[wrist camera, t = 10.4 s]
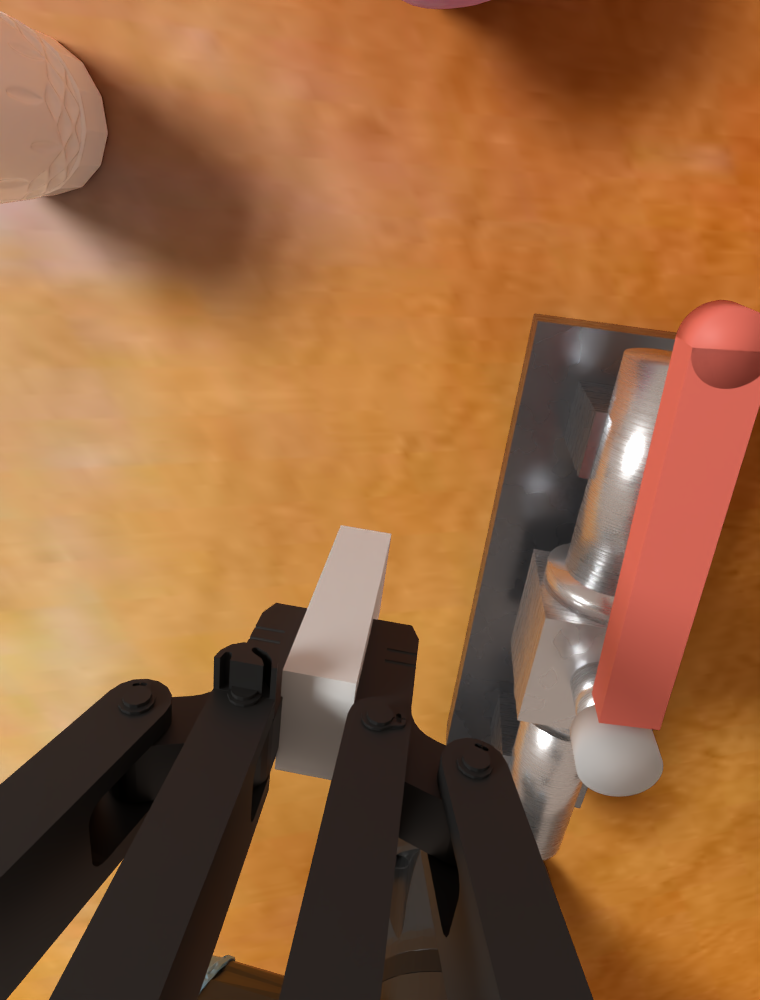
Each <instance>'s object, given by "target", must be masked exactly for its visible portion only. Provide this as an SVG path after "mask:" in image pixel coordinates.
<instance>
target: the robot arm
mask: <svg viewBox="0 0 760 1000" xmlns="http://www.w3.org/2000/svg"><path fill="white" fill-rule="evenodd" d="M390 540H391V534H389V533H383V532H377V531H371V530H366V529H360V528H354V527H348V526H342V525H341V526H340V529H339V531H338V534H337V536H336V539H335V541H334V544H333V546H332V549H331V551H330V554H329V556H328V559H327V561H326V564H325V566H324V569H323V571H322V574H321V576H320V579H319V581H318V584H317V586H316V589H315V591H314V593H313V596H312V598H311V601H310V603H309V606H308V608H302V607H296V606H291V605H285V604H280V603H275V604H274V605H272V606H271V607H270V608H268V609H267V610H266V611H264V612H263V613H262V615H261V616H260V618H259V620H258V622H257V624H256V627H255V628H254V630H253V632H252V634H251V636H250V639H249V640H248V642H247V643H244V642H243V643H238V644H232V645H230V646H228V647H226V648H224V649H222V650H220V651H219V652H218V653H217V655H216V656H215V657H214V688H213V690H212V691H211V692H208V693H205V694H202V695H196V696H185V697H172V694H171V693H170V691H169V689H168V687H167V686H165V685H163V684H162V683H160V682H159V681H154V680H150V679H136V680H131V681H128V682H125V683H121V684H120V685H118V686H116V687H115V688H113V689H112V690H110V691H109V692H108V693H107V694H105V695H104V696H103V697H102V698H101V699H100V700H98V701H97V702H96V703H95V704H94V705H93V706H91V707H90V708H89V709H88V710H87V711H86V712H84V713H83V714H82V715H81V716H80V717H79V718H77V719H76V720H75V721H74V722H73V723H72V724H70V725H69V726H68V727H67V728H66V729H65V730H63V731H62V732H61V733H60V734H59V735H58V736H56V737H55V738H54V739H53V740H52V741H51V742H49V743H48V744H47V745H46V746H45V747H44V748H42V749H41V750H40V751H39V752H38V753H36V754H35V755H34V756H33V757H32V758H31V759H29V760H28V761H27V762H26V763H25V764H24V765H22V766H21V767H20V768H19V769H18V770H17V771H15V772H14V773H13V774H12V775H11V776H10V777H8V778H7V779H6V780H5V781H4V782H3V783H1V784H0V1000H6V999H7V998H8V997H9V996H10V995H11V993H12V992H13V991H14V990H15V989H16V987H17V986H18V985H19V984H20V983H21V981H22V980H23V979H24V978H25V976H26V975H27V974H28V973H29V972H30V970H31V969H32V968H33V967H34V966H35V964H36V963H37V962H38V961H39V960H40V958H41V957H42V956H43V955H44V954H45V952H46V951H47V950H48V949H49V948H50V946H51V945H52V944H53V943H54V942H55V940H56V939H57V938H58V937H59V936H60V934H61V933H62V932H63V931H64V930H65V928H66V927H67V926H68V925H69V923H70V922H71V921H72V920H73V919H74V917H75V916H76V915H77V914H78V913H79V911H80V910H81V909H82V908H83V907H84V905H85V904H86V903H87V902H88V901H89V899H90V898H91V897H92V896H93V895H94V893H95V892H96V891H97V890H98V889H99V887H100V886H101V885H102V884H103V883H104V881H105V880H106V879H107V878H108V876H109V875H110V874H111V873H112V872H113V870H114V869H115V868H116V867H117V866H118V864H119V863H120V862H121V861H122V860H123V861H122V863H121V864H120V866H119V868H118V870H117V872H116V874H115V876H114V878H113V880H112V882H111V883H110V885H109V887H108V889H107V891H106V893H105V895H104V897H103V899H102V900H101V902H100V904H99V906H98V908H97V910H96V912H95V914H94V916H93V917H92V919H91V921H90V923H89V925H88V927H87V929H86V931H85V933H84V934H83V936H82V938H81V940H80V942H79V944H78V946H77V948H76V950H75V952H74V953H73V955H72V957H71V959H70V961H69V963H68V965H67V967H66V969H65V970H64V972H63V974H62V976H61V978H60V980H59V982H58V984H57V986H56V987H55V989H54V991H53V993H52V995H51V997H50V999H49V1000H593V997H592V994H591V992H590V989H589V986H588V983H587V981H586V978H585V975H584V972H583V970H582V967H581V964H580V961H579V959H578V956H577V953H576V951H575V948H574V945H573V942H572V940H571V937H570V934H569V931H568V929H567V926H566V923H565V920H564V918H563V915H562V912H561V909H560V907H559V904H558V901H557V898H556V896H555V893H554V890H553V887H552V885H551V882H550V878H549V874H548V871H547V868H546V866H545V864H544V862H543V860H542V857H541V854H540V852H539V849H538V846H537V843H536V841H535V838H534V835H533V832H532V830H531V827H530V824H529V821H528V819H527V816H526V813H525V811H524V808H523V805H522V802H521V800H520V797H519V794H518V791H517V789H516V786H515V783H514V780H513V778H512V775H511V772H510V769H509V767H508V764H507V762H506V760H505V759H504V757H503V756H502V754H501V753H500V752H499V751H498V750H497V749H495V748H494V747H493V746H492V745H490V744H488V743H486V742H483V741H481V740H478V739H472V738H462V739H456V740H454V741H452V742H451V743H449V744H447V745H444V744H441V743H439V742H437V741H435V740H433V739H432V738H430V737H428V736H427V735H425V734H424V733H423V732H422V731H421V730H420V729H419V728H418V727H417V725H416V724H415V722H414V720H413V717H412V713H411V705H412V696H413V687H414V678H415V669H416V660H417V651H418V642H419V639H418V637H417V635H416V633H415V631H414V629H413V627H412V626H411V625H405V624H400V623H394V622H388V621H383V620H378V617H379V612H380V606H381V599H382V592H383V586H384V579H385V573H386V566H387V559H388V553H389V546H390ZM275 757H276V762H275V769H277V770H282V771H287V772H293V773H298V774H303V775H308V776H313V777H318V778H324V779H329V780H332V781H331V785H330V789H329V793H328V797H327V801H326V805H325V810H324V814H323V818H322V822H321V826H320V830H319V835H318V839H317V843H316V847H315V851H314V855H313V859H312V864H311V868H310V872H309V876H308V880H307V884H306V888H305V893H304V897H303V901H302V905H301V909H300V913H299V918H298V922H297V926H296V930H295V934H294V938H293V942H292V947H291V951H290V955H289V959H288V963H287V967H286V971H285V976H284V975H280V974H277V973H273V972H270V971H267V970H263V969H260V968H256V967H253V966H249V965H246V964H243V963H239V962H236V961H235V957H233V956H230V955H226V956H224V957H218V956H213V952H214V949H215V946H216V943H217V940H218V937H219V934H220V931H221V929H222V926H223V923H224V920H225V917H226V914H227V911H228V908H229V905H230V902H231V899H232V896H233V893H234V890H235V887H236V884H237V881H238V878H239V876H240V873H241V870H242V867H243V864H244V861H245V858H246V855H247V852H248V849H249V846H250V843H251V840H252V837H253V834H254V831H255V828H256V825H257V823H258V820H259V817H260V814H261V811H262V808H263V805H264V802H265V799H266V796H267V793H268V790H269V779H270V771H271V768H272V765H273V762H274V760H275ZM123 858H124V859H123Z"/></svg>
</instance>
